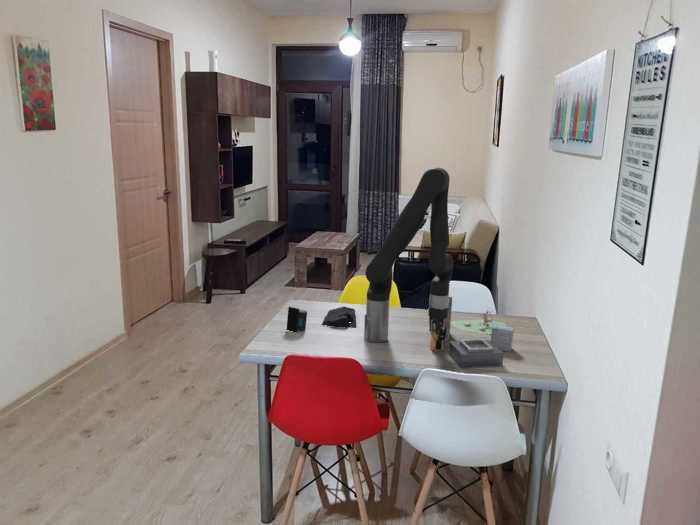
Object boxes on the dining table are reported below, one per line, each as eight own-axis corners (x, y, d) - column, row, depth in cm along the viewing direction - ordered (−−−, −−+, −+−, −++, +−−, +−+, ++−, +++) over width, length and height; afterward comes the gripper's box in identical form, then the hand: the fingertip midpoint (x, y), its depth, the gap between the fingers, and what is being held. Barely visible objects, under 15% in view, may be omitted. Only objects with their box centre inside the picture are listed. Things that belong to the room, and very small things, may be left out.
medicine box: (512, 348, 222) (514, 327, 220) (510, 352, 218) (512, 331, 216) (492, 344, 225) (493, 324, 223) (489, 348, 221) (491, 327, 219)
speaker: (293, 334, 230) (295, 309, 229) (286, 330, 235) (287, 306, 233) (308, 332, 235) (310, 308, 234) (300, 329, 240) (302, 305, 238)
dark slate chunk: (359, 313, 261) (360, 303, 260) (355, 329, 240) (356, 319, 239) (327, 311, 262) (327, 302, 261) (320, 327, 241) (320, 317, 240)
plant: (450, 334, 238) (452, 313, 236) (446, 318, 258) (448, 299, 256) (510, 337, 236) (512, 317, 234) (502, 321, 256) (503, 302, 254)
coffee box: (434, 331, 238) (437, 295, 235) (449, 333, 237) (452, 296, 234) (433, 339, 230) (435, 301, 226) (449, 340, 228) (451, 303, 225)
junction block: (461, 367, 202) (462, 351, 201) (448, 353, 214) (449, 338, 213) (502, 365, 205) (503, 349, 204) (487, 352, 217) (488, 336, 216)
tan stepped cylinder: (432, 351, 217) (433, 335, 215) (428, 346, 222) (429, 330, 220) (443, 350, 218) (444, 334, 216) (439, 345, 222) (440, 330, 221)
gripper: (423, 299, 222) (421, 340, 226) (435, 311, 208) (432, 354, 212) (441, 299, 223) (439, 339, 227) (454, 310, 209) (451, 353, 213)
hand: (436, 346), depth 219 cm, fingers closed on tan stepped cylinder, 4 cm apart
